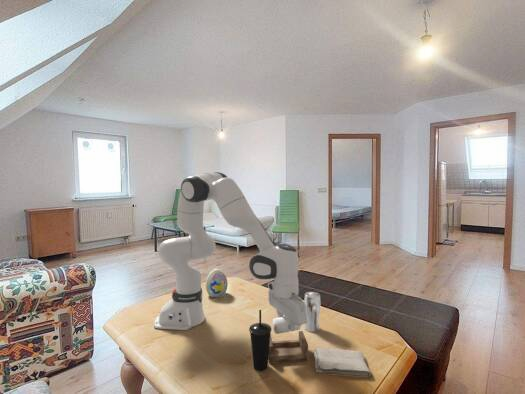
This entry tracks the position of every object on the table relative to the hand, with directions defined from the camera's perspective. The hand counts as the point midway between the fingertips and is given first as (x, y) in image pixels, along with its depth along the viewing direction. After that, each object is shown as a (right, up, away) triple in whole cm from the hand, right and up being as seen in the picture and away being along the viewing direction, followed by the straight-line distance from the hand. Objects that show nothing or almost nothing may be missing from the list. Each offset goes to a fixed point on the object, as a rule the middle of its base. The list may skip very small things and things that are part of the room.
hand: (286, 325), depth 102 cm
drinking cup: (-10, -11, -6) cm, 16 cm away
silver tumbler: (+13, -10, +19) cm, 25 cm away
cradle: (0, -11, +1) cm, 11 cm away
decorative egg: (-35, -8, +55) cm, 66 cm away
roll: (0, +1, 0) cm, 1 cm away
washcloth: (+18, -12, -5) cm, 22 cm away
